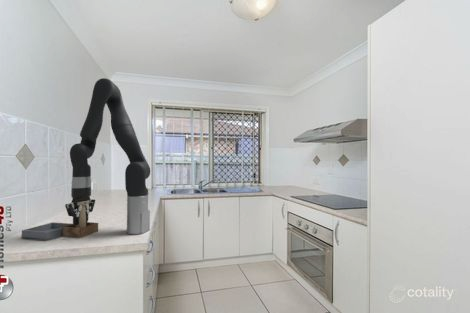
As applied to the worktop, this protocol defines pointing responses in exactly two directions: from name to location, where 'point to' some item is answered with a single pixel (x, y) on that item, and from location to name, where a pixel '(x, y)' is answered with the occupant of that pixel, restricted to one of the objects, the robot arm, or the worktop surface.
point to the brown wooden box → (79, 230)
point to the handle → (82, 214)
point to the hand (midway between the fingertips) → (80, 223)
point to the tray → (44, 231)
